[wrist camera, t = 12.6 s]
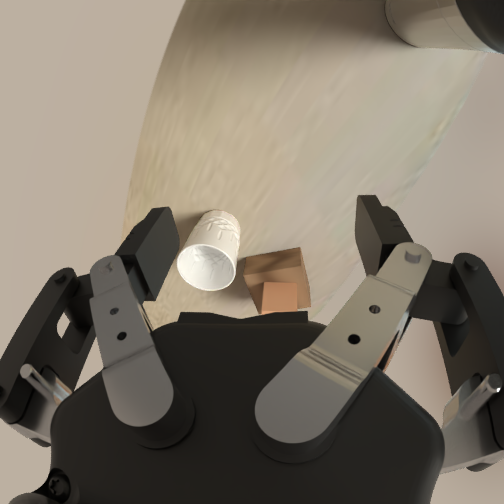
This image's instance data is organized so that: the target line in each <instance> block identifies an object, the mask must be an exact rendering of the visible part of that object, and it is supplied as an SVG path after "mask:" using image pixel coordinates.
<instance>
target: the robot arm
mask: <svg viewBox="0 0 504 504" xmlns="http://www.w3.org/2000/svg"><path fill="white" fill-rule="evenodd" d="M385 13H386V17H387V20H388V22H389V25H390V26H391V28H392V29H393V31H394V32H395V33H396V34H397V35H398V36H399V37H400V38H401V39H403V40H404V41H405V42H407V43H409V44H411V45H413V46H416V47H421V48H446V49H463V50H474V51H484V52H494V53H500V54H504V0H386V3H385ZM355 239H356V244H357V247H358V250H359V253H360V256H361V259H362V262H363V265H364V269H365V272H366V276H367V277H366V278H365V279H364V281H363V282H362V283H361V285H360V286H359V287H358V289H357V290H356V291H355V292H354V294H353V295H352V296H351V298H350V299H349V300H348V301H347V303H346V304H345V305H344V307H343V308H342V309H341V310H340V312H339V313H338V314H337V315H336V316H335V318H334V319H333V320H332V321H331V322H330V324H329V325H328V326H326V325H323V324H320V323H317V322H313V321H308V311H294V312H273V313H268V314H264V315H259V316H254V317H249V318H244V319H237V318H232V317H228V316H223V315H218V314H214V313H206V312H181V313H180V315H179V318H178V321H177V322H173V323H169V324H166V325H164V326H161V327H159V328H157V329H155V330H154V329H153V327H152V324H151V322H150V320H149V318H148V315H147V313H146V311H145V309H144V307H143V305H142V304H143V302H144V301H156V298H157V296H158V294H159V291H160V289H161V287H162V285H163V283H164V280H165V278H166V276H167V274H168V271H169V269H170V267H171V265H172V263H173V261H174V259H175V256H176V254H177V252H178V250H179V244H180V242H179V235H178V232H177V229H176V225H175V222H174V218H173V215H172V211H171V209H170V208H169V207H160V208H152V209H151V211H150V212H149V213H148V215H147V216H146V217H145V219H144V220H142V221H141V222H139V223H138V224H137V225H136V226H134V228H133V229H132V230H131V232H130V234H129V235H128V236H127V237H126V240H124V242H123V243H122V244H121V246H120V247H119V249H118V250H117V252H116V253H115V255H111V256H107V257H104V258H102V259H100V260H99V261H97V262H96V263H95V264H94V265H93V266H92V268H91V270H90V274H87V275H82V276H79V277H77V275H76V273H75V272H74V270H73V269H72V268H63V269H61V270H59V271H57V272H56V273H54V274H53V275H52V276H51V277H50V278H49V280H48V281H47V283H46V284H45V286H44V287H43V289H42V291H41V292H40V293H39V295H38V296H37V298H36V299H35V301H34V303H33V304H32V305H31V307H30V309H29V310H28V312H27V314H26V315H25V317H24V318H23V320H22V322H21V323H20V325H19V327H18V328H17V330H16V332H15V334H14V336H13V337H12V339H11V341H10V343H9V344H8V346H7V348H6V350H5V352H4V354H3V356H2V358H1V359H0V418H1V419H3V421H4V422H5V423H6V424H8V425H9V426H10V427H12V428H13V429H15V430H16V431H17V432H19V433H20V434H22V435H23V436H25V437H26V438H29V439H31V440H32V441H34V442H35V443H37V444H39V445H40V446H42V447H49V446H51V466H50V473H49V475H48V478H47V480H46V481H45V483H44V484H43V485H42V486H41V487H40V488H38V489H37V490H35V491H34V492H31V493H24V494H21V495H19V496H17V497H15V498H13V499H12V500H11V501H10V503H9V504H430V501H431V497H432V493H433V490H434V487H435V484H436V481H437V478H438V476H439V474H443V473H447V472H451V471H455V470H458V469H462V468H465V467H466V468H467V469H468V470H470V471H474V472H477V471H482V470H484V469H486V468H487V467H489V466H491V465H493V464H495V463H497V462H498V461H500V460H502V459H503V458H504V296H503V294H502V292H501V290H500V288H499V286H498V285H497V283H496V281H495V279H494V278H493V276H492V274H491V273H490V271H489V269H488V267H487V266H486V264H485V263H484V262H483V261H482V260H481V259H480V258H478V257H477V256H475V255H473V254H470V253H459V254H457V255H456V256H455V257H454V260H453V263H452V264H451V263H444V262H440V261H435V260H432V255H431V253H430V252H429V250H427V249H426V248H425V247H423V246H422V245H419V244H416V243H414V242H413V240H412V238H411V237H410V235H409V233H408V231H407V230H406V228H405V227H404V224H403V223H402V221H400V218H399V216H398V215H397V213H396V212H395V211H394V210H392V209H391V208H389V207H388V206H382V205H381V203H380V202H379V200H378V198H377V196H376V195H358V197H357V206H356V221H355ZM63 312H64V313H65V315H66V316H67V318H68V319H69V320H70V323H69V325H68V327H67V329H66V331H65V333H64V335H63V337H62V339H61V337H60V336H59V334H58V332H57V323H58V321H59V319H60V317H61V316H62V314H63ZM413 318H419V319H425V320H430V321H433V324H434V327H435V330H436V334H437V337H438V341H439V344H440V348H441V352H442V355H443V359H444V363H445V367H446V371H447V375H448V380H449V384H450V389H451V394H452V398H451V399H450V400H449V401H448V402H447V404H446V406H445V408H444V412H443V425H442V428H441V429H440V427H439V425H438V423H437V422H436V420H435V419H434V418H433V417H432V416H431V415H430V414H429V413H428V412H427V411H426V410H425V409H424V408H422V407H421V406H420V405H419V404H418V403H417V402H416V401H415V400H414V399H412V398H411V397H410V396H409V395H408V394H407V393H406V392H405V391H403V389H401V388H400V387H399V386H398V385H397V384H396V383H395V382H394V381H393V380H391V379H390V378H389V377H388V376H387V375H386V374H385V373H384V372H385V371H386V368H387V367H388V365H389V363H390V361H391V359H392V357H393V355H394V353H395V351H396V350H397V348H398V346H399V344H400V342H401V340H402V338H403V336H404V335H405V333H406V331H407V329H408V327H409V325H410V323H411V321H412V319H413ZM95 337H97V341H98V345H99V349H100V353H101V357H102V361H103V366H104V368H103V369H102V370H101V371H100V372H99V373H97V374H96V375H95V376H93V377H92V378H91V379H89V380H88V381H87V382H86V383H84V384H83V385H82V386H81V387H79V388H78V389H77V390H75V391H74V389H75V387H76V384H77V381H78V379H79V376H80V374H81V371H82V369H83V366H84V364H85V361H86V359H87V356H88V354H89V351H90V349H91V347H92V344H93V342H94V340H95Z"/></svg>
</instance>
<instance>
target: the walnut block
mask: <svg viewBox="0 0 504 504" xmlns="http://www.w3.org/2000/svg"><path fill="white" fill-rule="evenodd" d="M243 277H244V279H245V282H246V284H247V286H248V289H249V291H250V294H251V296H252V299H253V301H254V304H255V306H256V308H257V311H258V313H259V314H262V301H263V290H264V282H283V283H297V309H300V308H307V307H311V301H310V287H309V283H308V278H307V274H306V270H305V265H304V261H303V257H302V253H301V248H300V247H299V248H293V249H288V250H282V251H277V252H271V253H266V254H260V255H255V256H249V257H246V262H245V268H244V273H243Z"/></svg>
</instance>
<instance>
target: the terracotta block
mask: <svg viewBox="0 0 504 504" xmlns="http://www.w3.org/2000/svg"><path fill="white" fill-rule="evenodd" d="M294 311H297V283H283V282H264V290H263V301H262V315H264V314H268V313H273V312H294Z"/></svg>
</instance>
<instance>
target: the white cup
mask: <svg viewBox="0 0 504 504" xmlns="http://www.w3.org/2000/svg"><path fill="white" fill-rule="evenodd" d="M239 237H240V226H239V223H238V221H237V220H236V219H235V218H234V216H233V215H232V214H230V213H227V212H225V211H223V210H212V211H210V212H207V213H205V214H204V215H203V216H202V217H201V219H200V220H199V221H198V223H197V225H196V226H195V227H194V229H193V231H192V232H191V234H190V235H189V237H188V239H187V241H186V243H185V245H184V246H183V248H182V250H181V252H180V254H179V255H178V258H177V269H178V271H179V274H180V275H181V277H182V278H183V279H184V280H185V281H186V282H187V283H189V284H190V285H192V286H193V287H196V288H198V289H201V290H206V291H216V290H221V289H223V288H226V287H227V286H229V285H230V284H231V283H232V281H233V280H234V278H235V273H236V266H237V259H238V252H239Z"/></svg>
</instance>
